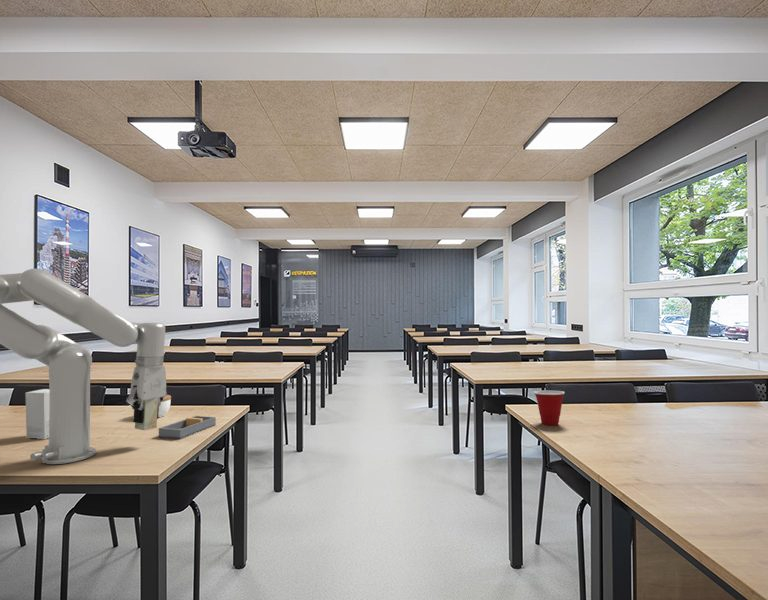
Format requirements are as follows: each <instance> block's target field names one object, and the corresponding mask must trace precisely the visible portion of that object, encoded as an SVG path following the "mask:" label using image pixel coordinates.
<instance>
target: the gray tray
mask: <svg viewBox="0 0 768 600" xmlns="http://www.w3.org/2000/svg"><path fill="white" fill-rule="evenodd" d="M190 418H202V419H203V421H201V422H199V423H196V424H193V425H190V426H188V427H186V418H185V419H182V420H179V421H176V422H174V423H171V424H168V425H164V426H161V427H159V428H158V438H160V437H161V439H171V438H173V439H174V440H182V439H184V437H185V438H187V437H189V435H190V436H192V435H194V433H195V434H197V433H200V432H202V430H203V431H206V430H207V428H208V429H209V428H212V426H213V427H215V426H216V422H217V421H216V418H217V417H216V416H203V415H195V416H192V417H191V416H190ZM199 431H200V432H199ZM196 432H197V433H196ZM191 434H192V435H191ZM186 436H187V437H186ZM173 439H172V440H173Z"/></svg>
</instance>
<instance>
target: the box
mask: <svg viewBox="0 0 768 600" xmlns="http://www.w3.org/2000/svg"><path fill="white" fill-rule="evenodd" d="M138 404H140V401H139V402H138ZM157 409H158V398H155V399H150V400H145V401H144V405H143V409H142V410H144V419H143V423H134V429H135V430H139V431H140V430H141V431H147V430H153V429H156V428H157V425H158V419H157Z"/></svg>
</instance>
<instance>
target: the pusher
mask: <svg viewBox="0 0 768 600" xmlns="http://www.w3.org/2000/svg"><path fill="white" fill-rule="evenodd" d="M185 419H186V427H188V426H190V425H193V424H196V423H199V422H201V421H203V419H202V418H191V417H186V418H185Z"/></svg>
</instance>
